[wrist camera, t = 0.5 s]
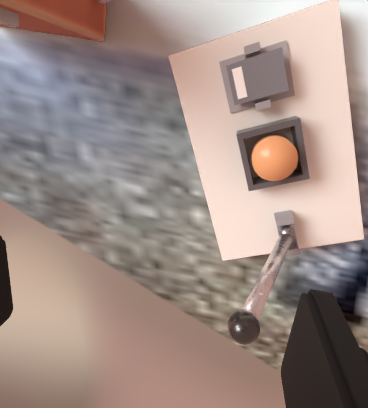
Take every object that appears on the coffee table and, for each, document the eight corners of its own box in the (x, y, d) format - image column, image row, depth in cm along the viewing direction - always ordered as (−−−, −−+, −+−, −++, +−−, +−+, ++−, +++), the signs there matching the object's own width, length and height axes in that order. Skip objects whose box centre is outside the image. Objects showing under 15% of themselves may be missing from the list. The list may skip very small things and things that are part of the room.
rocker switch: (282, 48, 24) (281, 47, 23) (289, 89, 25) (288, 90, 24) (228, 66, 26) (225, 65, 25) (236, 104, 26) (234, 105, 26)
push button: (290, 129, 25) (294, 132, 23) (297, 170, 26) (301, 175, 24) (247, 140, 26) (247, 143, 24) (255, 179, 27) (256, 185, 25)
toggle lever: (298, 221, 29) (250, 328, 17) (301, 240, 29) (257, 355, 18) (277, 222, 30) (219, 323, 19) (280, 240, 30) (226, 348, 19)
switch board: (327, 7, 26) (348, -14, 21) (353, 226, 32) (374, 251, 27) (175, 59, 29) (161, 52, 24) (224, 247, 35) (221, 273, 30)
